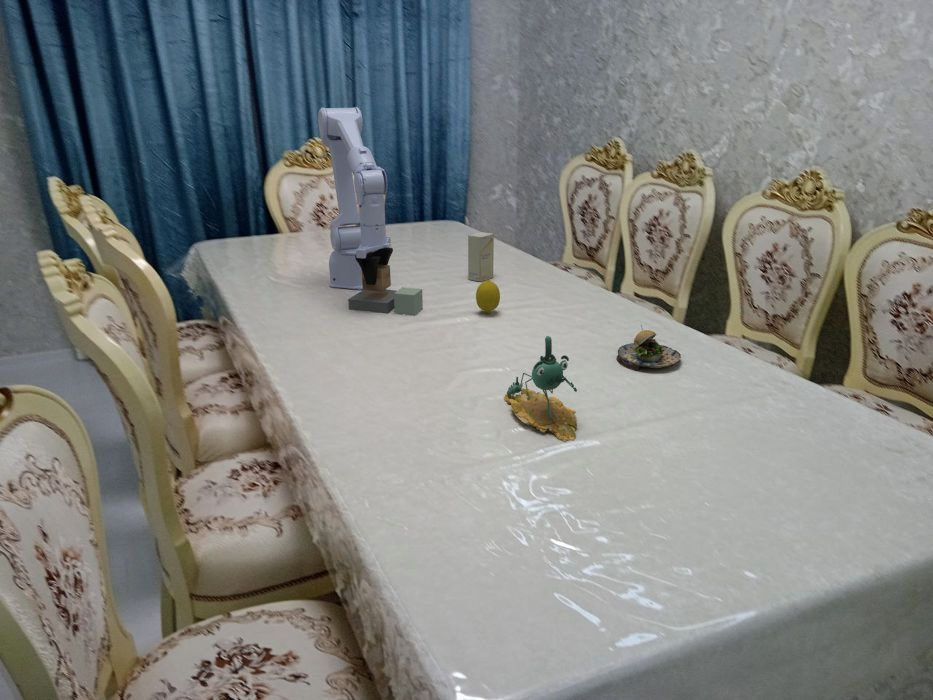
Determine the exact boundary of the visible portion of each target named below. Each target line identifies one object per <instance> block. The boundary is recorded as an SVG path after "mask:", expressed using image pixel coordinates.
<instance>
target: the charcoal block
mask: <svg viewBox="0 0 933 700" xmlns="http://www.w3.org/2000/svg"><path fill="white" fill-rule="evenodd" d="M396 291H398V290H395V289H385V290H384V291H371V290H363V289H361V291H359V292H358V293H356V294H354V295H353V296H350V298H347V303H348V310H349V311H356V312H357V311H358V312H367V313H378V314H386V315H387V314H389V313H391V312H392V311H395V308H394V293H395V292H396Z"/></svg>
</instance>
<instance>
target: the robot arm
mask: <svg viewBox="0 0 933 700" xmlns="http://www.w3.org/2000/svg"><path fill="white" fill-rule="evenodd" d="M317 116H318V117H317V121H318V122H317V123H318V124H317V125H318V130H319V137H320V140H321V144H322V145H323V146H325V147H326V148H328V151H329V154H330V159H331V167H332V172H333V179H334V186H335V193H336V200H337V207H338V208H337V209H338V215H336V216H335V218H334V219H332V220H331V222H330V223H329V230H330V235H329V238H330V244H331V248H332V252H331V253H330V255H329V257H328V258H329V259H328V270H329V280H330V282H329V283H330V284H329V285H328V286H329V287H330V288H338V289H339V288H341V289H350V290H351V289H352V290H361V291H362V290H363V285H362V272H363V275H364V278H365V281H366V284H367V285H375V284H376V278H377V267H378V264H379V265H389V262H390V259H391V256H392V254H393V253H394V248H393V247H391V246H392V244H391V242H392V241H391V236H387V233H386V231H387V230H386V229H387V228H386V211H385V209H386V207H385V196H386V195H387V193H388V178H387V173H386V171H385V170H384V168H381V166H377V164H376V161H375V159H374V155H373V154H372V151H371V150H370V149H369V148H368V147H366V146H364V143H363V140H362V136H361V134H362V130H363V127H364V126H363V124H364V123H363V115H362V111H361V110H360V108H359V107H358V106H355V107H328V108H327V107H320V109H319V111H318V115H317ZM357 204H358V205H357ZM358 211H359V212H358Z"/></svg>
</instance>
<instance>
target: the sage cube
mask: <svg viewBox="0 0 933 700" xmlns="http://www.w3.org/2000/svg"><path fill="white" fill-rule="evenodd" d="M394 308H395V309H394V314H395V315H403V314H405V316H412V315H413V316H417V315H418V314H419V313H420V312H421V311H422V310H423V309H424V308H423V288H415V287H413V288H412V287H405V286H402V287H401V288H399V289H398V290H397V291H396V292H395V293H394Z"/></svg>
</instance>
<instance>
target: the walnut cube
mask: <svg viewBox="0 0 933 700" xmlns="http://www.w3.org/2000/svg"><path fill="white" fill-rule="evenodd" d="M362 285H363V289H362V290H371V291H384V290H385V289H386V290H388V288H390V287H391V285H392V283H391V265H389V264H388V265H379V264H378V267H377V278H376V284H375V285H367V284H366V281H365V278H364V275H363V272H362Z"/></svg>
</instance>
